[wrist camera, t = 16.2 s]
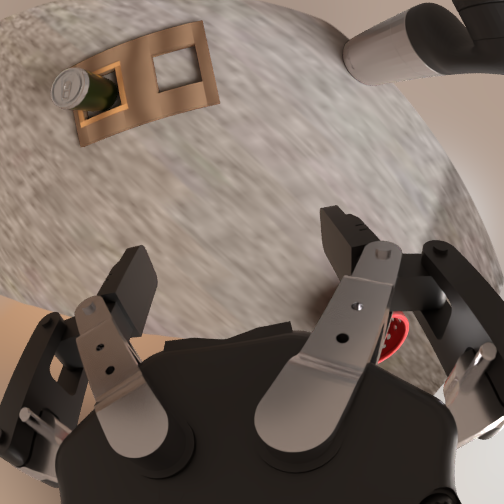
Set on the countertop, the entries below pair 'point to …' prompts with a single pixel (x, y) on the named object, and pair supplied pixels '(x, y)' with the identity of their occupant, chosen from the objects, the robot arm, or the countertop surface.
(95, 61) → the socket board
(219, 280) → the countertop surface
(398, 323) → the plant pot
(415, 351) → the countertop surface
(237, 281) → the countertop surface
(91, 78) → the beer can
